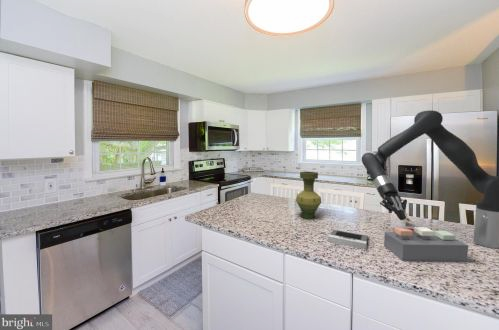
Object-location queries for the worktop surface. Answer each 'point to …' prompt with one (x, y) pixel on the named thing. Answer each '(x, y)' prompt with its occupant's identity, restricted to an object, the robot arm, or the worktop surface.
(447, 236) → the sage key
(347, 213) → the worktop surface
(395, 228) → the terracotta key
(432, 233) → the cream key
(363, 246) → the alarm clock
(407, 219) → the architectural model
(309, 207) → the vase
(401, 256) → the key console
